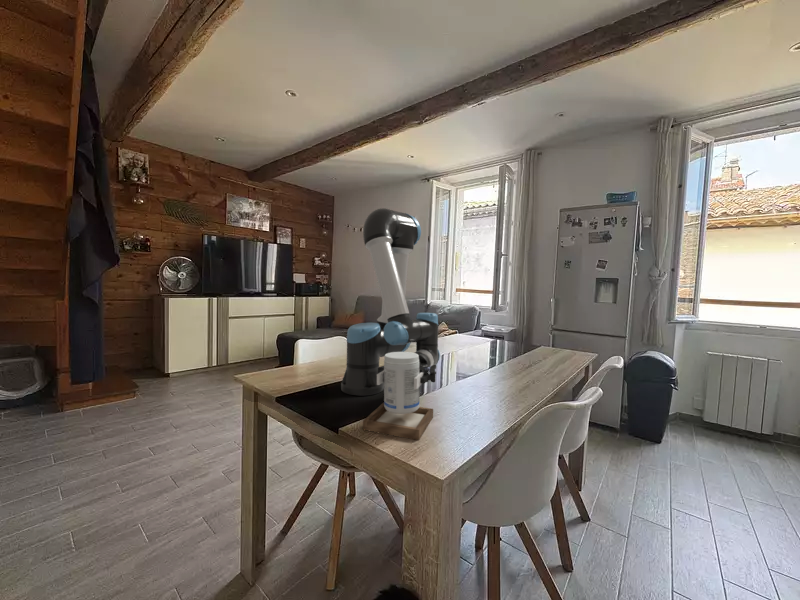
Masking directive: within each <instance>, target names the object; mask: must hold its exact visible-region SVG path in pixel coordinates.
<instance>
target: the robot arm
mask: <svg viewBox="0 0 800 600" xmlns="http://www.w3.org/2000/svg"><path fill="white" fill-rule="evenodd" d="M362 227H363V229H362V234H363V235H362V238H363V242H364V246H365V249H366V250H368V251H369V254H370V258H371V262H372V266H373V270H374V274H375V277H376V281H377V284H378V288H379V289H378V290H379V292H380V296H381V300H382V302H381V314H380V316H378V318H376V322H368V321H367V322H360V323H356V324H353V325H350V326H349V328H348V329H347V333H346V335H347V336H346V369H345V371H344V373H343V377H342V381H341V383H340V389H341V391H342V392H343V393H344V394H347V395H351V396H358V397H359V396H372V395H377V394H380V393H381V392H384V365H381V366H380V358H385V354H387V353H391V352H407V350H408V349H409V347H410V346H411V344H412V343H413V344H414V343H415V345H416V346H415V347H416V350H415V352H414V353H416V354H418V355H419V374H418V375H417V376H416V377H415V378H414V389H418V388H419V389H420V386H422V385H423V384H426V383H428V382H429V381H430V382H431V383H435V382H436V374H437V364H438V363H439V361H440V357H441V353H440V350H439V343H438V342H439V315H438V313H435V312H418V313H417V314H416V318H415V319H412V318H411V314H410V310H409V307H408V303H407V300H406V292H407V281H408V280H407V279H408V268H409V256H410V254H411V253H412V252H414V246H415V245H416V244H418V242H419V241H420V240H421V235H422V228H421V224H420V222H419V221H418V219H417V218H416V217H415V216H413V215H411V214H408V213H406V212H405V213H404V212H401V211H396V210H392V209H390V208H389V209H388V208H387V207H386V208H384V207H381V208H377V209H374V210H373V211H371V212H370V213H369V215H367V217H366V219H365V221H364V224H363V226H362Z"/></svg>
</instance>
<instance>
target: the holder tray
mask: <svg viewBox="0 0 800 600" xmlns="http://www.w3.org/2000/svg"><path fill="white" fill-rule="evenodd" d="M433 418H434V408H430V407H422V406H419V408H418V410H416V411H415V412H413V413H407V414H395V413H391V412H389V411H387V410H386V409H385V407H384V402H382V403H381V404H380V405H379V406H378V407H377V408H376V409H375V410H373V411H372V412H371V413H370V414H369V415H368V416H366V418H364V420H362V421H363V422H362V430H363V429H365V430H370V431H374V432H373V433H376V432H379V433H378V434H381V433H384V434H383V435H387V434H389V435H388V436H393V435H394V436H395V437H398V436H400V438H404V439H411V440H414V441H415V440H416V441H420V440H421V438H422V437H423V435H424V433H425V432H426V430H427V428H428V426H429V425H430V423H432V422H431V421H432V420H433ZM365 430H364V431H365ZM370 431H369V432H370ZM394 436H393V437H394Z"/></svg>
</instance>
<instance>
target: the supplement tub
mask: <svg viewBox="0 0 800 600" xmlns="http://www.w3.org/2000/svg"><path fill="white" fill-rule="evenodd" d="M383 358H384V359H383V366H384V382H383V383H384V389H383V394H384V395H383V396H384V397H383V401H384V402H383V403H384V407H385V409H386V410H387V411H389V412H391V413H395V414H407V413H413V412H415V411H416V410H418V408H419V407H420V387H419V388H418V389H414V378H415V377H416V376H417V375H418V374H419V355H418V354H416V353H415V352H412V351H411V352H410V351H404V352H391V353H387V354H385V356H384V357H383Z"/></svg>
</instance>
